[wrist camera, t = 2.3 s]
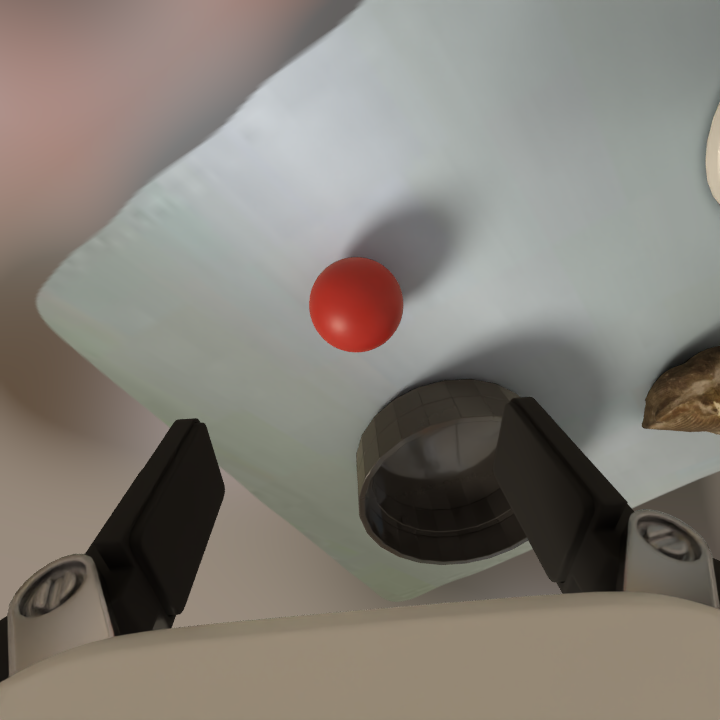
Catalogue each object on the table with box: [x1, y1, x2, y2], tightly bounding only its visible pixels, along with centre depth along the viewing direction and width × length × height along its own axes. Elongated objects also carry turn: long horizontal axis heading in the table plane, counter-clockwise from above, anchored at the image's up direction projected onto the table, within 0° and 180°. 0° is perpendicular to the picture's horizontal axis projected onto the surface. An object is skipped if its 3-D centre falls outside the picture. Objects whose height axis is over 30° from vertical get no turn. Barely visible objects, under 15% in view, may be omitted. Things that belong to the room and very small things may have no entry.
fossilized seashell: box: [642, 346, 720, 435], centre depth 27 cm, size 8×7×10 cm
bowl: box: [356, 379, 528, 565], centre depth 30 cm, size 17×17×6 cm
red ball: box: [309, 257, 403, 352], centre depth 22 cm, size 6×6×6 cm
